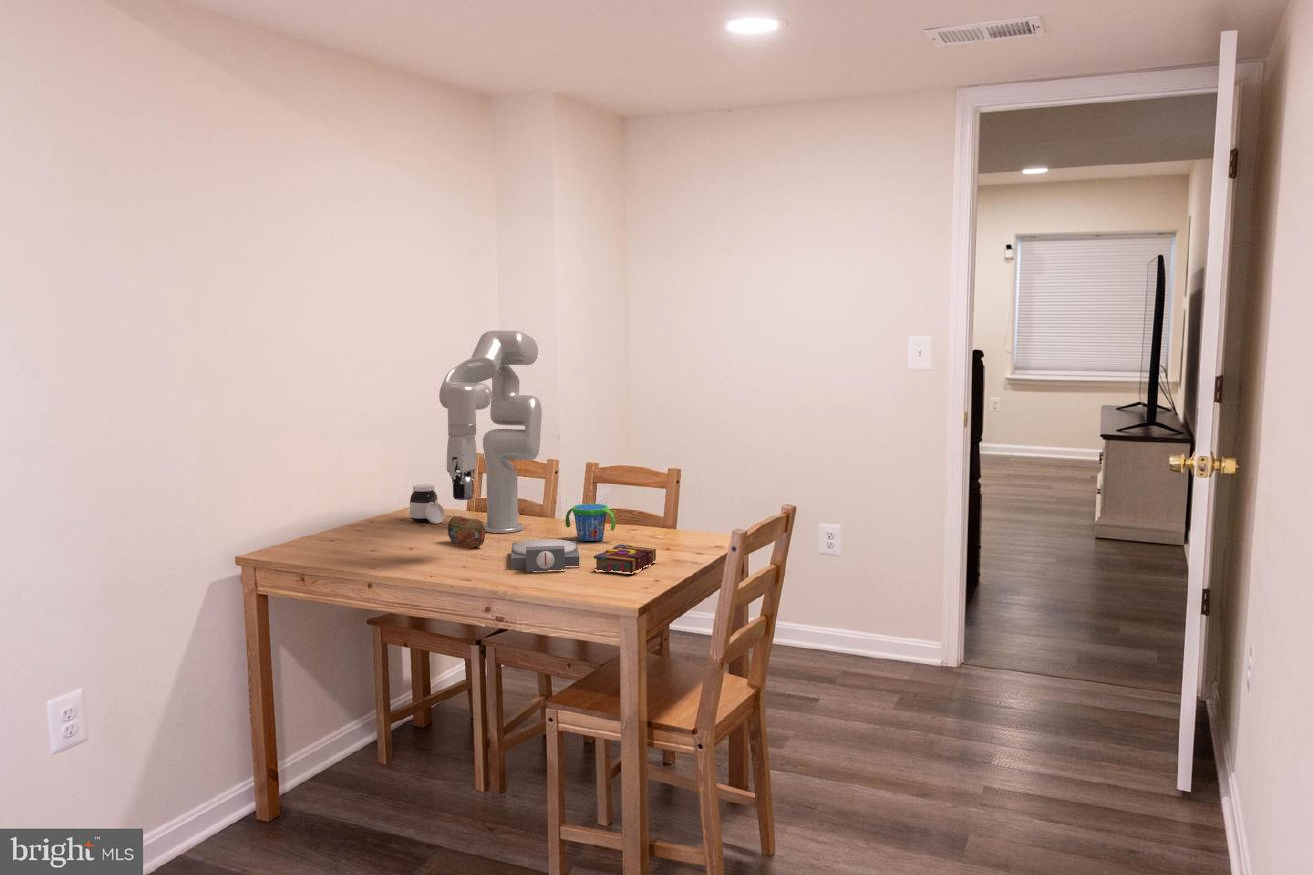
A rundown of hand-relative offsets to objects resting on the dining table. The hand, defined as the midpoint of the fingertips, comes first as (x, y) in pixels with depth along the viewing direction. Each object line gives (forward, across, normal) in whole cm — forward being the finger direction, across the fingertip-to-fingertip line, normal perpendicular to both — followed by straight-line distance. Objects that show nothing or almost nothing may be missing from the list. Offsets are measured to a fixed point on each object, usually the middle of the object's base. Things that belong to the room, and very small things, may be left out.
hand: (463, 495), depth 271 cm
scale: (+17, 0, +23) cm, 29 cm away
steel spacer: (+1, 0, 0) cm, 1 cm away
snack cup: (+18, -29, +27) cm, 44 cm away
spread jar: (+18, -42, -32) cm, 56 cm away
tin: (+18, -14, -6) cm, 23 cm away
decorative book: (+18, +1, +46) cm, 49 cm away
